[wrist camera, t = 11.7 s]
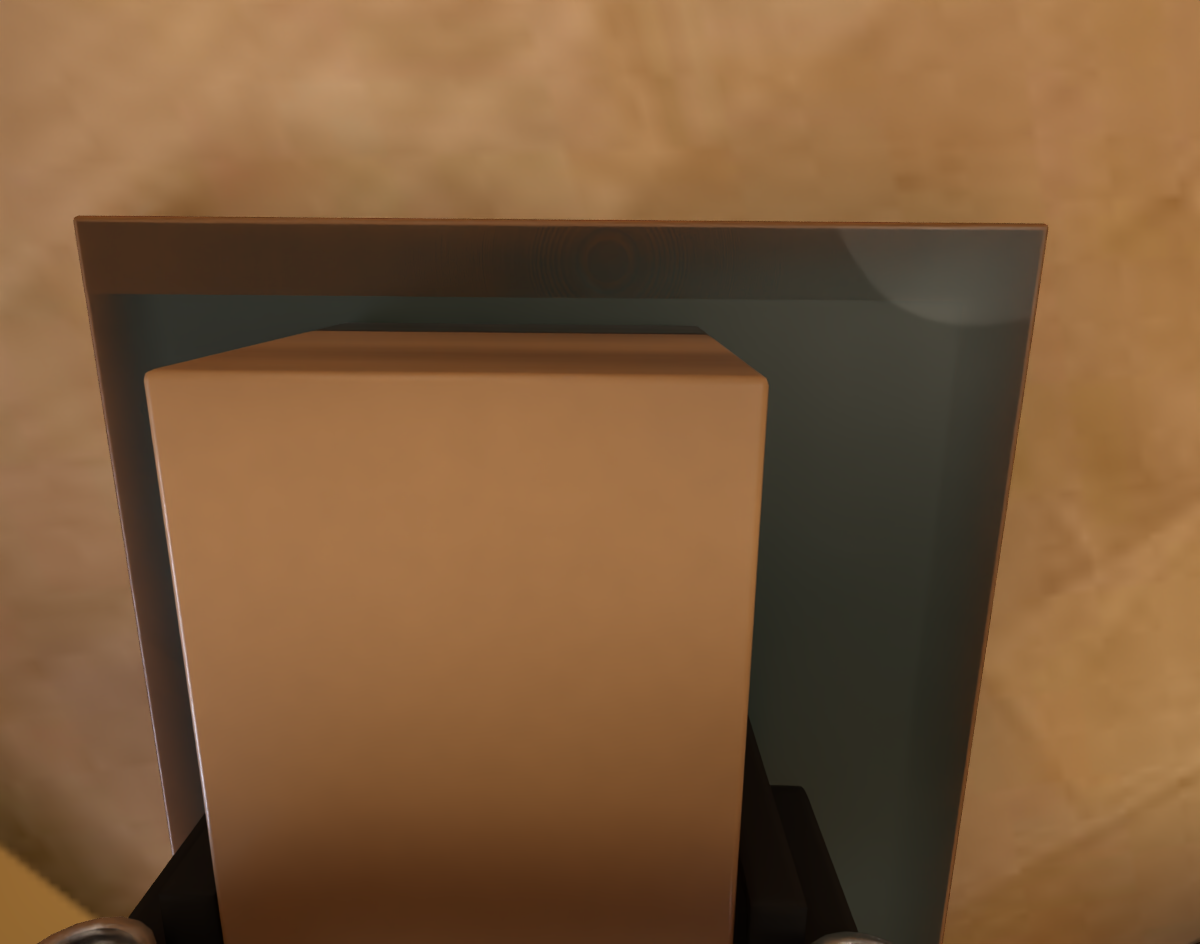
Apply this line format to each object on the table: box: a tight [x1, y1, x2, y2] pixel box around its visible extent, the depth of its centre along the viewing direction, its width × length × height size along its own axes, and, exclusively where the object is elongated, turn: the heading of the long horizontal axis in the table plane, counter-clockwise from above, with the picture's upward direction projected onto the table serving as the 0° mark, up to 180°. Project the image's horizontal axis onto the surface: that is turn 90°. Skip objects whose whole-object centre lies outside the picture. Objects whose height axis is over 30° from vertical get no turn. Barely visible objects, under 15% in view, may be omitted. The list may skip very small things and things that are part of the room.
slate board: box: [73, 216, 1048, 944], centre depth 12 cm, size 15×12×1 cm
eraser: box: [144, 323, 769, 944], centre depth 9 cm, size 9×4×4 cm, turn 0°
